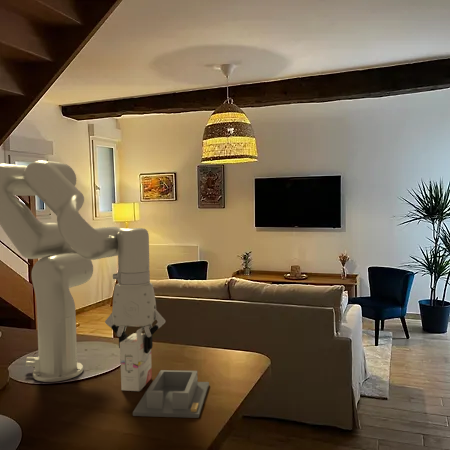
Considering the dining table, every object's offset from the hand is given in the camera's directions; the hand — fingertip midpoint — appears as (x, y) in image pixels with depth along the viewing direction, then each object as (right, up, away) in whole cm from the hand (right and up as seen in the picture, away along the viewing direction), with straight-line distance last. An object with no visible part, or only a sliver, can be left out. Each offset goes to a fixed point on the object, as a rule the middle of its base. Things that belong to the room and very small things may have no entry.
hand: (135, 350), depth 112 cm
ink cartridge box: (0, -9, 0) cm, 9 cm away
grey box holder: (+10, -9, -9) cm, 16 cm away
